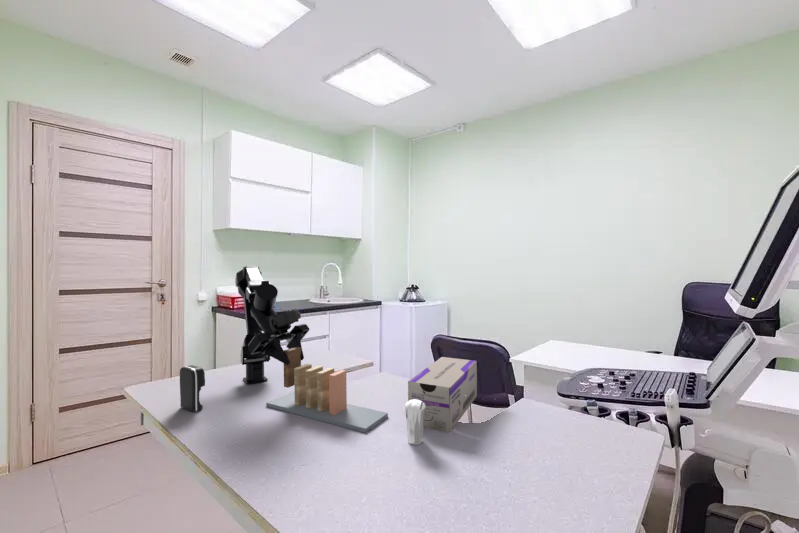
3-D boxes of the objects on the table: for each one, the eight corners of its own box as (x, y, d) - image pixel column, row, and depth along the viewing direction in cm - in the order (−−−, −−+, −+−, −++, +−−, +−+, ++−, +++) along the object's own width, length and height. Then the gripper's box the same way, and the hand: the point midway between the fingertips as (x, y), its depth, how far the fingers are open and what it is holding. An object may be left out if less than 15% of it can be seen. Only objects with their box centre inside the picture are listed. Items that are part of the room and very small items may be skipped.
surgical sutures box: (450, 433, 88) (449, 387, 88) (408, 424, 93) (408, 381, 93) (476, 397, 111) (476, 360, 111) (441, 391, 116) (441, 356, 115)
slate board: (266, 406, 104) (266, 402, 104) (292, 394, 113) (292, 391, 113) (365, 432, 88) (365, 428, 88) (387, 416, 97) (387, 413, 97)
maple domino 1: (294, 405, 103) (294, 368, 102) (307, 398, 107) (307, 363, 107) (299, 406, 102) (298, 369, 102) (312, 399, 106) (311, 364, 106)
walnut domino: (283, 386, 104) (283, 350, 104) (297, 381, 109) (296, 346, 109) (288, 387, 104) (287, 351, 103) (301, 382, 108) (300, 347, 108)
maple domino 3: (317, 410, 99) (317, 372, 98) (330, 404, 103) (329, 367, 103) (322, 412, 98) (321, 373, 98) (334, 405, 102) (334, 368, 102)
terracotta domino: (329, 413, 97) (329, 374, 96) (341, 406, 101) (341, 369, 101) (334, 415, 96) (334, 375, 96) (346, 408, 100) (346, 370, 100)
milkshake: (413, 450, 80) (413, 403, 80) (401, 439, 85) (401, 395, 85) (431, 445, 82) (431, 399, 82) (418, 435, 87) (418, 391, 87)
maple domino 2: (306, 407, 101) (305, 370, 100) (318, 401, 105) (318, 365, 105) (310, 409, 100) (310, 371, 100) (323, 402, 104) (322, 366, 104)
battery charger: (207, 408, 103) (206, 366, 103) (193, 413, 100) (192, 370, 100) (193, 403, 107) (192, 362, 107) (179, 407, 104) (178, 366, 103)
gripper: (254, 304, 99) (285, 351, 94) (304, 297, 116) (333, 336, 111) (234, 331, 103) (263, 377, 98) (286, 320, 120) (313, 360, 115)
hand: (296, 361), depth 105 cm, fingers closed on walnut domino, 5 cm apart
